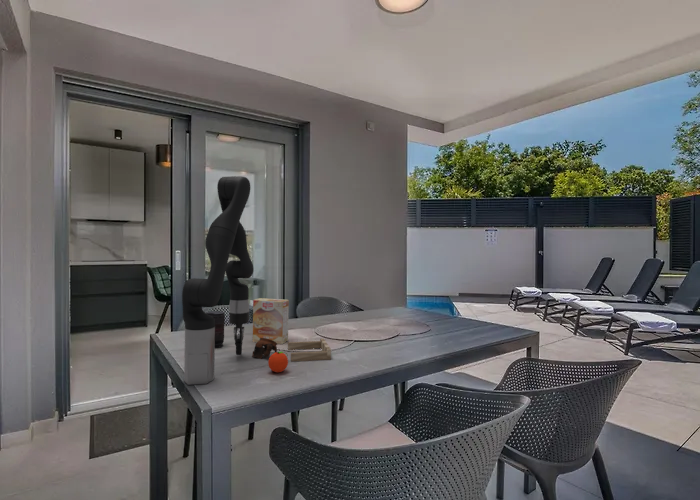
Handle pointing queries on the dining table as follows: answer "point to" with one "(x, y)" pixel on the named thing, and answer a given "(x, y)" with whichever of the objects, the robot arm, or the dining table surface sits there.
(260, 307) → the coffeecake box
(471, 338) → the dining table surface
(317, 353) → the beige wooden tray
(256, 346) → the pottery mug
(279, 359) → the clementine
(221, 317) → the camera lens
